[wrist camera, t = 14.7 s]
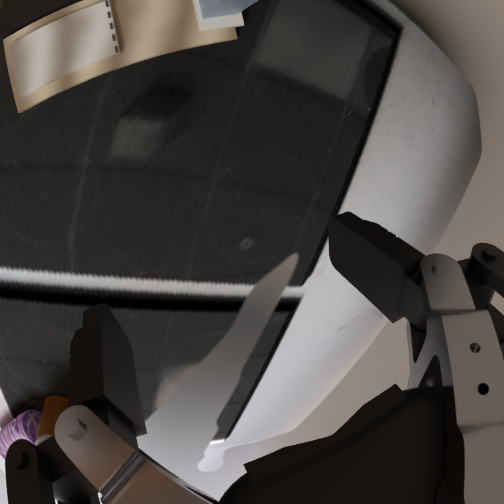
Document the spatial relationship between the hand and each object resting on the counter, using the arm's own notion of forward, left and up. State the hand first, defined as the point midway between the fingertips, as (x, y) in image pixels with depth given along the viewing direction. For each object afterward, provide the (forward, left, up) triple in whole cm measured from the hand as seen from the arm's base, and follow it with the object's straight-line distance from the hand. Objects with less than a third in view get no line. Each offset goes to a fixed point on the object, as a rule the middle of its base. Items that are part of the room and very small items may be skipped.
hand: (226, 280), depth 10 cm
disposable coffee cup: (-14, -50, -28) cm, 59 cm away
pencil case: (-26, -61, -28) cm, 72 cm away
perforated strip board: (-9, +13, -28) cm, 32 cm away
